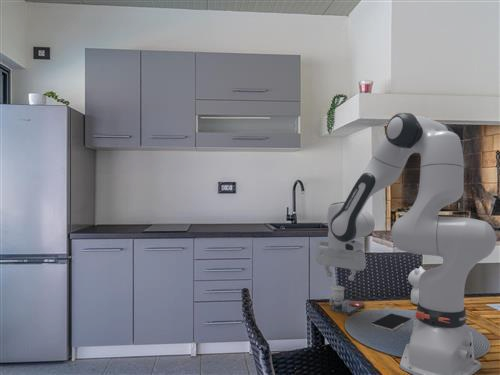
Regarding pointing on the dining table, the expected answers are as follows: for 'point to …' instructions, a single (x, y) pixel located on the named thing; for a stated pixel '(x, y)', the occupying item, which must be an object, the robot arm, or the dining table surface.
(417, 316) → the robot arm
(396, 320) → the smartphone
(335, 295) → the cap
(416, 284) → the cat figurine
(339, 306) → the bayonet base
